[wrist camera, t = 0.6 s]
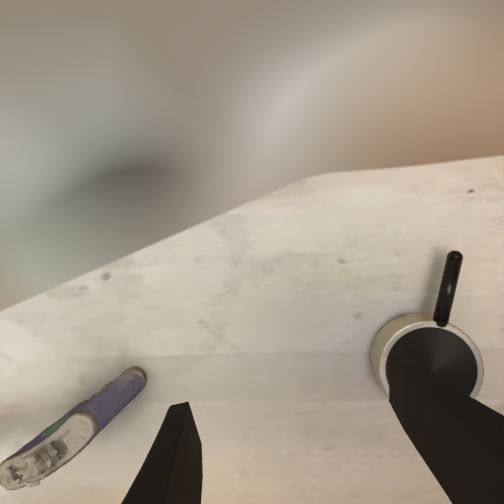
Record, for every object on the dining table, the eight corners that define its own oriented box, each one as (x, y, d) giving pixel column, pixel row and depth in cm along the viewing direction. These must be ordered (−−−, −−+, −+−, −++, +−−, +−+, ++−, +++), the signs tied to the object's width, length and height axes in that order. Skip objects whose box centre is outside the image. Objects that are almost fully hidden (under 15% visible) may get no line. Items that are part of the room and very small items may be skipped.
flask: (137, 361, 33) (65, 420, 22) (155, 386, 33) (90, 457, 22) (66, 411, 34) (-36, 490, 23) (82, 435, 34) (-13, 526, 23)
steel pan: (453, 411, 30) (473, 432, 27) (361, 390, 31) (370, 407, 27) (488, 258, 29) (514, 261, 26) (394, 241, 30) (407, 240, 27)
